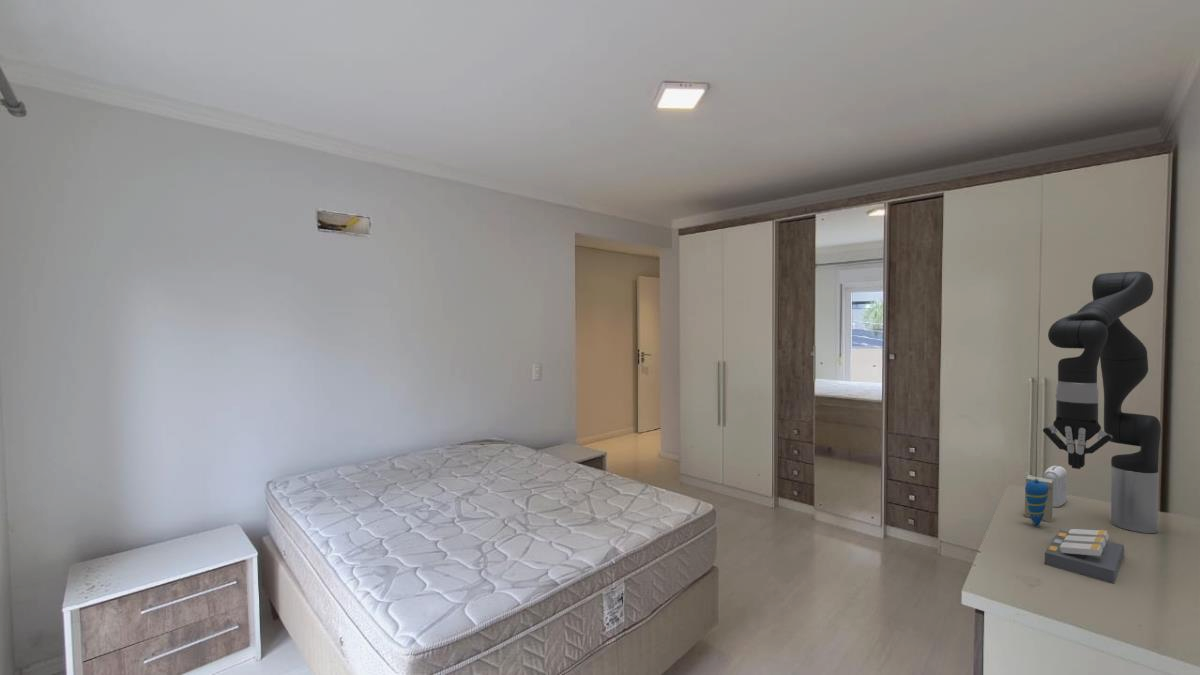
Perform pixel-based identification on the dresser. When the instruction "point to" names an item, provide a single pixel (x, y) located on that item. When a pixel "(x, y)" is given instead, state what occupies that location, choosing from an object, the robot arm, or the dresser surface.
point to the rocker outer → (1081, 548)
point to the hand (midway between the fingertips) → (1076, 467)
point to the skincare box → (1049, 501)
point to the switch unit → (1086, 559)
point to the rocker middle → (1085, 540)
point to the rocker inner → (1089, 533)
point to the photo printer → (1058, 484)
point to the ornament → (1036, 499)
